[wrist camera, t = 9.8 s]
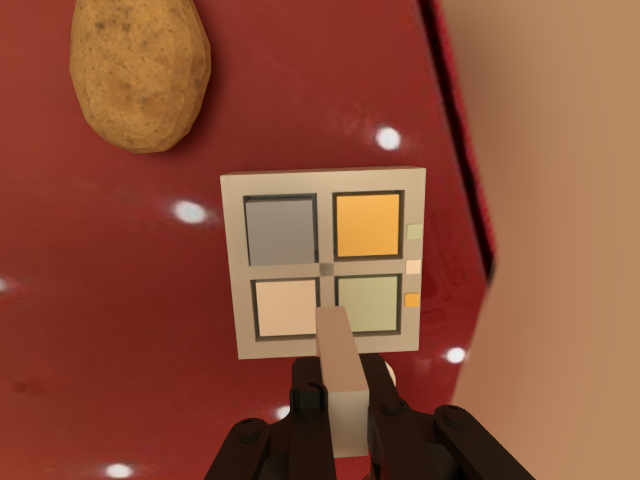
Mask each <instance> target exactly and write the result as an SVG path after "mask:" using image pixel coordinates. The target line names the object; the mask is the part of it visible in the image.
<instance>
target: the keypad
mask: <svg viewBox="0 0 640 480" xmlns="http://www.w3.org/2000/svg"><path fill="white" fill-rule="evenodd" d="M425 176H426V168H421V167H414V166H408V165H404V166H376V167H347V168H319V169H290V170H262V171H233V172H230V173H227V174H224V175H220V181H221V191H222V200H223V210H224V220H225V230H226V240H227V250H228V260H229V269H230V279H231V289H232V299H233V309H234V319H235V328H236V338H237V348H238V358H239V359H255V358H275V357H295V356H315V355H316V334H297V335H276V336H260V329H259V317H258V305H257V293H256V281H257V279H277V278H300V277H315V294H316V307H331V306H337V289H336V276H346V275H369V274H392V273H395V274H396V276H397V304H396V330H381V331H360V332H352V334H353V337H354V341H355V344H356V347H357V351H358V353H375V352H395V351H415V350H418V346H419V322H420V298H421V273H422V249H423V225H424V200H425ZM371 191H393V192H395V193H397V194H399V217H398V254H388V255H365V256H341V257H338V255H337V251H336V244H335V200H334V193H344V192H371ZM298 196H312V211H313V237H314V263H315V264H291V265H268V266H251V262H250V250H249V238H248V227H247V215H246V202H247V201H248V200H249V199H250V198H271V197H298Z"/></svg>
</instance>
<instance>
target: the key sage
mask: <svg viewBox="0 0 640 480" xmlns="http://www.w3.org/2000/svg"><path fill="white" fill-rule="evenodd" d="M336 289H337V306H344V307H345V310H346V314H347V317H348V320H349V324H350V327H351V331H352V332H360V331H381V330H396V304H397V276H396V274H395V273H392V274H369V275H346V276H336Z"/></svg>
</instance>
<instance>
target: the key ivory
mask: <svg viewBox="0 0 640 480" xmlns="http://www.w3.org/2000/svg"><path fill="white" fill-rule="evenodd" d="M256 293H257V305H258V317H259V329H260V336H276V335H297V334H316V316H315V307H316V294H315V277H300V278H277V279H257V281H256Z"/></svg>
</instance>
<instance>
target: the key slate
mask: <svg viewBox="0 0 640 480" xmlns="http://www.w3.org/2000/svg"><path fill="white" fill-rule="evenodd" d="M246 215H247V227H248V238H249V250H250V262H251V266H268V265H291V264H315V263H314V237H313V211H312V196H298V197H271V198H250V199H249V200H248V201H247V202H246Z"/></svg>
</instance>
